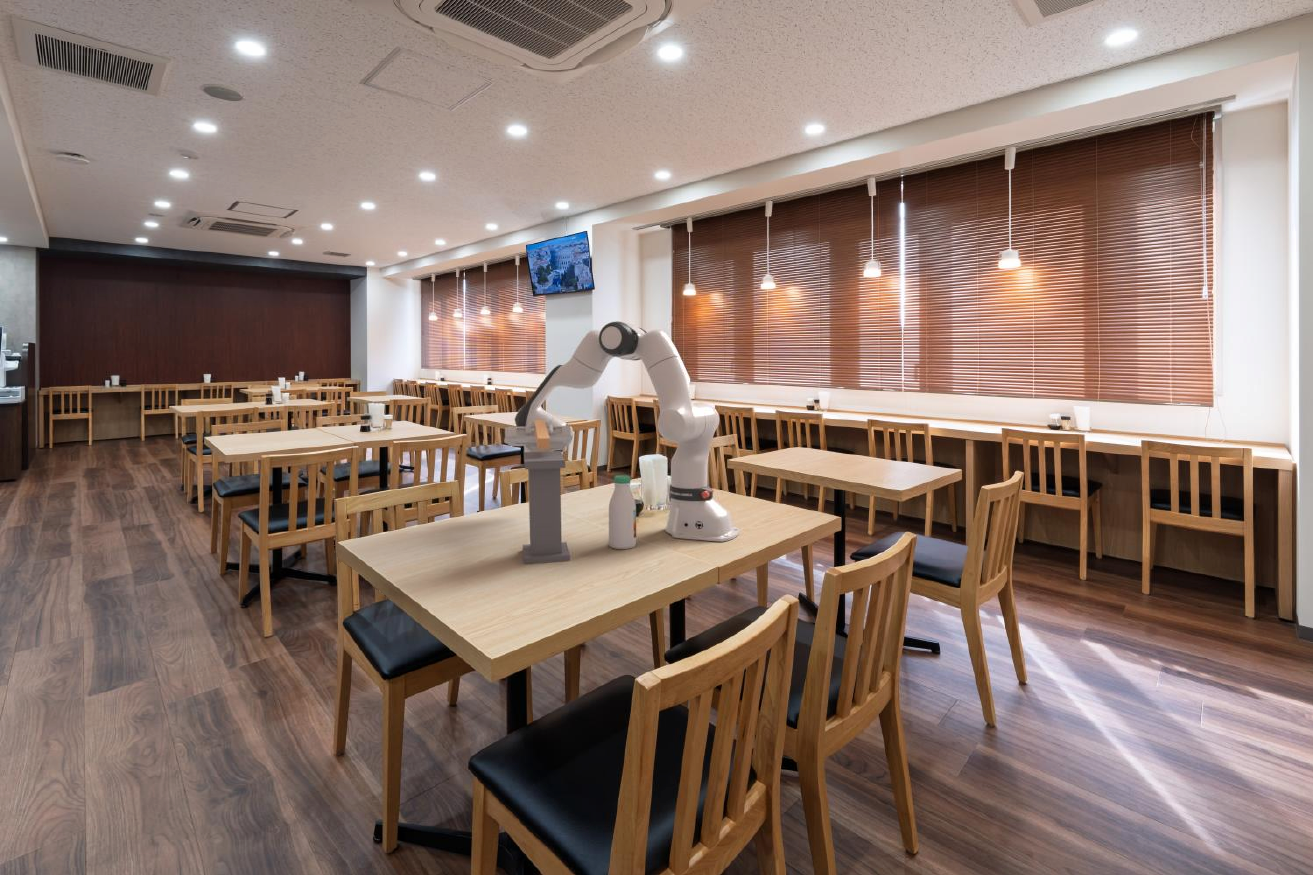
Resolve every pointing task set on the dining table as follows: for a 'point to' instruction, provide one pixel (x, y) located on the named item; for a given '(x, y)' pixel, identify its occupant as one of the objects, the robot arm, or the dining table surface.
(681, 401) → the robot arm
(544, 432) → the bar
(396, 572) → the dining table surface
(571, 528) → the dining table surface
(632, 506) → the milk bottle
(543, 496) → the stand
